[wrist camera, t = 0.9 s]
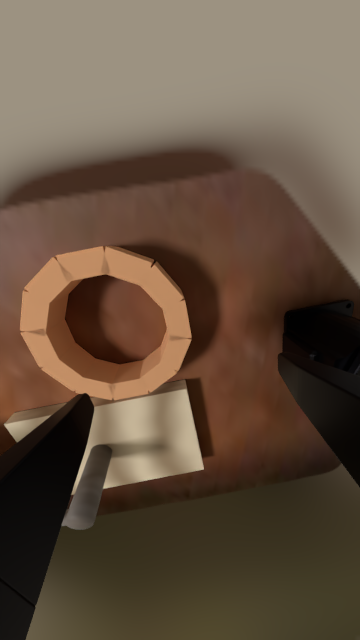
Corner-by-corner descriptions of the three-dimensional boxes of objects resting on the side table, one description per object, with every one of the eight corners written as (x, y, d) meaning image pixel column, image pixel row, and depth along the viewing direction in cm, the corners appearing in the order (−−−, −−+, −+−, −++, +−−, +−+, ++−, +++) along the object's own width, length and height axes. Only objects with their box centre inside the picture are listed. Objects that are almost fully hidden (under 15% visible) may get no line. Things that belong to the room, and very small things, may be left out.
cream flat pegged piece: (185, 379, 21) (194, 446, 14) (201, 457, 26) (215, 536, 19) (14, 412, 21) (-61, 495, 14) (62, 483, 26) (24, 572, 19)
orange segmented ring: (171, 234, 16) (172, 232, 13) (195, 364, 20) (200, 383, 18) (17, 265, 16) (-15, 269, 13) (77, 387, 20) (62, 410, 18)
